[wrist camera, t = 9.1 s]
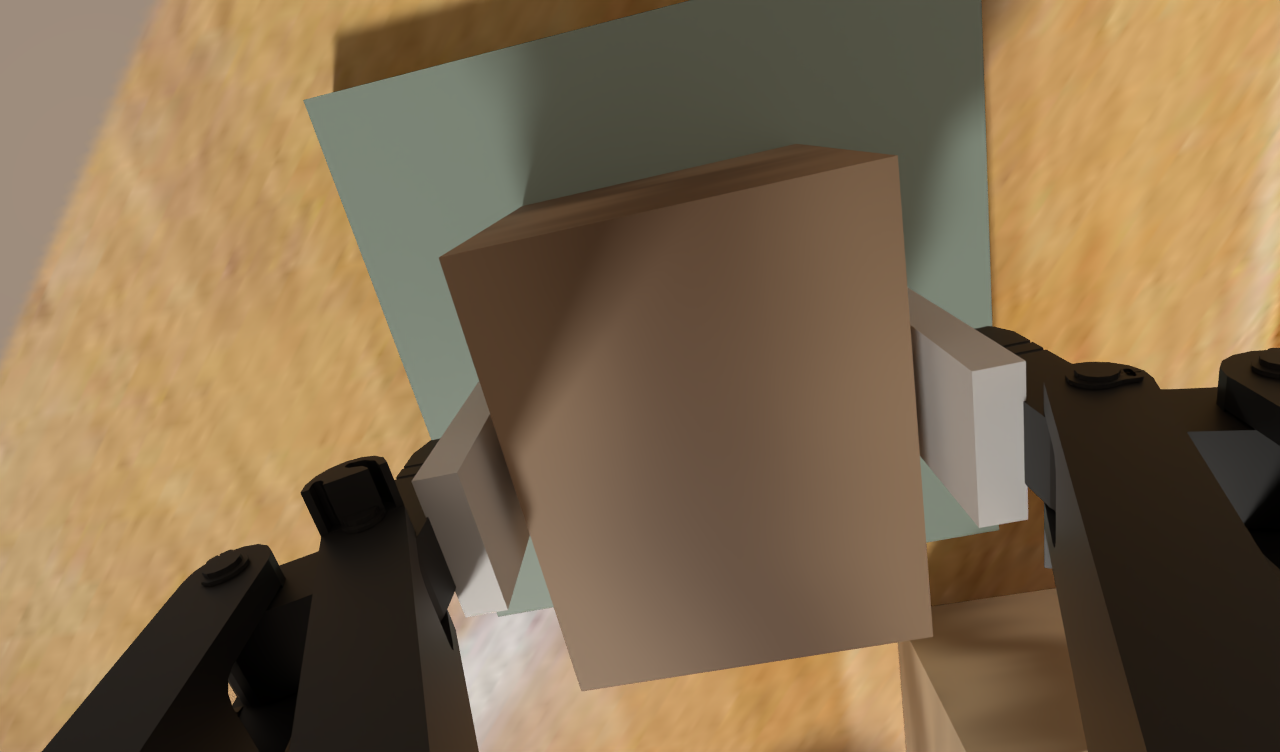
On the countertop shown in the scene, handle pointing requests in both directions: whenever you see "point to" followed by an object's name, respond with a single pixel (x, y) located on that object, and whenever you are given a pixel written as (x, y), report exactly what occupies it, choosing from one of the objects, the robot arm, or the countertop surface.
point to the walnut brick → (709, 410)
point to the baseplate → (662, 153)
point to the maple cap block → (992, 679)
